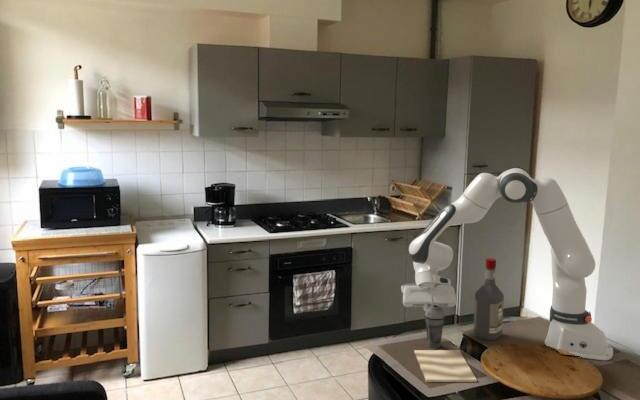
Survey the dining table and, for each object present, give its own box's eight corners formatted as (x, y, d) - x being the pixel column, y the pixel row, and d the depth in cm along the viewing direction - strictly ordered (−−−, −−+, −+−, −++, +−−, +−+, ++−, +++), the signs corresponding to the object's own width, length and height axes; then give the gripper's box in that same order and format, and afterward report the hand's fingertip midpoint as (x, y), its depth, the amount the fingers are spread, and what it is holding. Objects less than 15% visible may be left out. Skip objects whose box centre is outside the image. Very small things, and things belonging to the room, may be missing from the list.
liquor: (470, 335, 210) (474, 259, 206) (481, 328, 217) (485, 255, 212) (493, 342, 204) (497, 264, 200) (503, 334, 211) (507, 259, 206)
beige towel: (414, 352, 196) (414, 350, 196) (459, 352, 196) (459, 349, 196) (426, 382, 174) (426, 379, 174) (476, 381, 174) (476, 379, 174)
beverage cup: (444, 351, 197) (445, 297, 194) (423, 349, 198) (425, 296, 195) (443, 343, 204) (445, 291, 201) (423, 341, 205) (425, 290, 202)
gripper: (401, 279, 211) (404, 313, 202) (454, 279, 211) (460, 312, 202) (399, 287, 216) (402, 320, 208) (451, 286, 216) (456, 319, 208)
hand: (431, 316), depth 205 cm, fingers closed
